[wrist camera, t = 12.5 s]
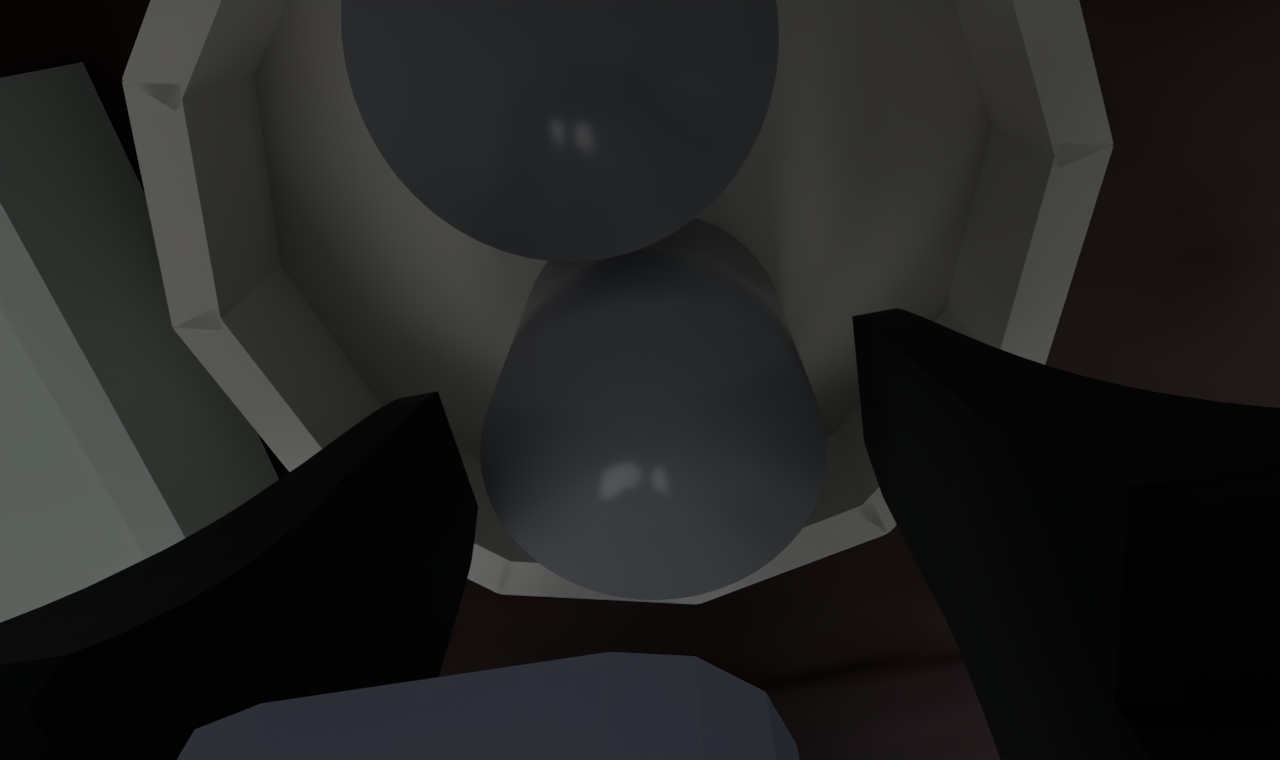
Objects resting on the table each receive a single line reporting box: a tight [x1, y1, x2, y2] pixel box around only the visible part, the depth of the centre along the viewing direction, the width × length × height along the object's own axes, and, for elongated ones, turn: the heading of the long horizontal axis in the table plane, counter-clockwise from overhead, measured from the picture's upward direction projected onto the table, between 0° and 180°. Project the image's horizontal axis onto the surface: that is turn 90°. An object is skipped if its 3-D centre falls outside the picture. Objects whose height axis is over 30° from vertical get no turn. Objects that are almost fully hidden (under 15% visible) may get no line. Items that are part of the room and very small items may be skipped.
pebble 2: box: [480, 218, 827, 600], centre depth 12 cm, size 4×4×4 cm
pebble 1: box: [341, 0, 779, 262], centre depth 10 cm, size 4×4×4 cm
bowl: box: [122, 0, 1113, 604], centre depth 13 cm, size 12×12×3 cm
